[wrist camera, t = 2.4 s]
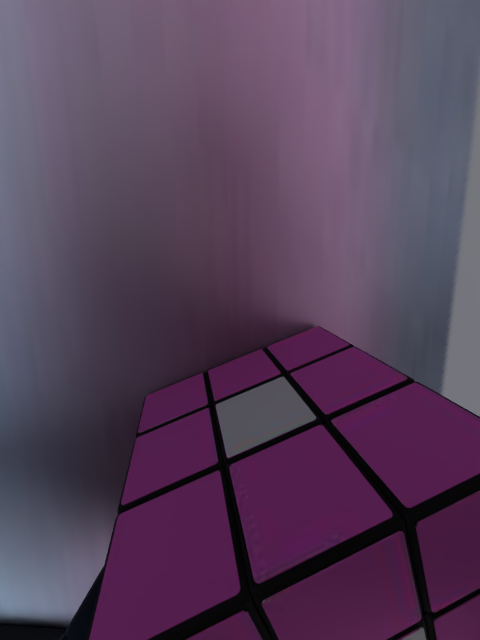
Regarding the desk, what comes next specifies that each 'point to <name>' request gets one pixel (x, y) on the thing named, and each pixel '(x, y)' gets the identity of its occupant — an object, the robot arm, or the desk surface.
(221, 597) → the puzzle toy
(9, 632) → the multimeter
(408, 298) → the desk surface
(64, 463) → the desk surface
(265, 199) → the desk surface
